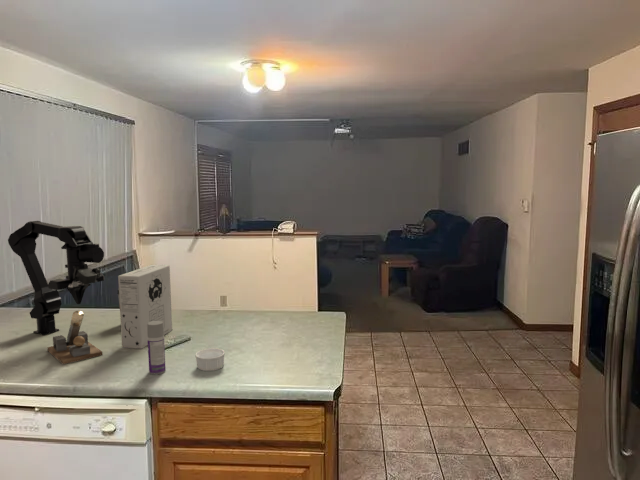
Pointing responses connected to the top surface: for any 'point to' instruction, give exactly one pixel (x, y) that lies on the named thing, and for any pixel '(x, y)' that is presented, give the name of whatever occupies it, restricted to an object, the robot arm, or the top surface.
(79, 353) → the tan base plate
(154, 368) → the container
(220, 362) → the ramekin
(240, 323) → the top surface
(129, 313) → the cereal box
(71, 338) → the lever
